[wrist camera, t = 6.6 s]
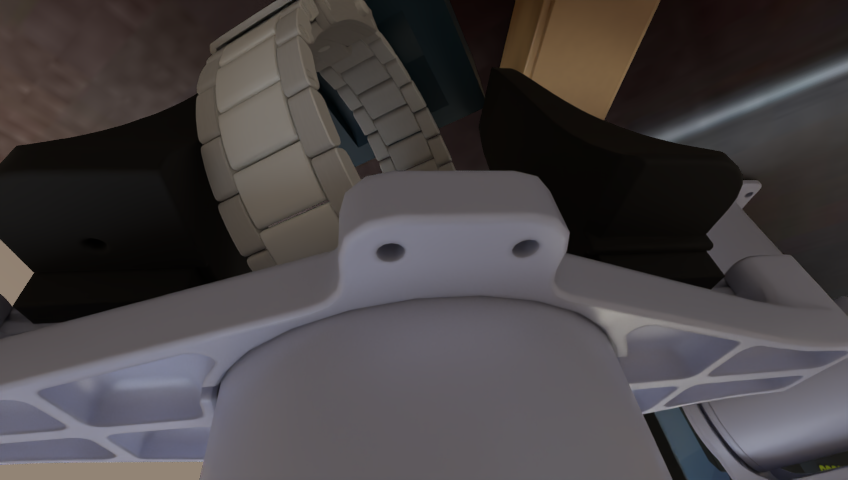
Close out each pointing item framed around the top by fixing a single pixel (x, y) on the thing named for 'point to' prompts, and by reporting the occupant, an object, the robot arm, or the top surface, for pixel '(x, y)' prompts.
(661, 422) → the router box
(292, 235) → the watch
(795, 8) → the top surface
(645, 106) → the top surface
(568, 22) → the pencil box
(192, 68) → the top surface
